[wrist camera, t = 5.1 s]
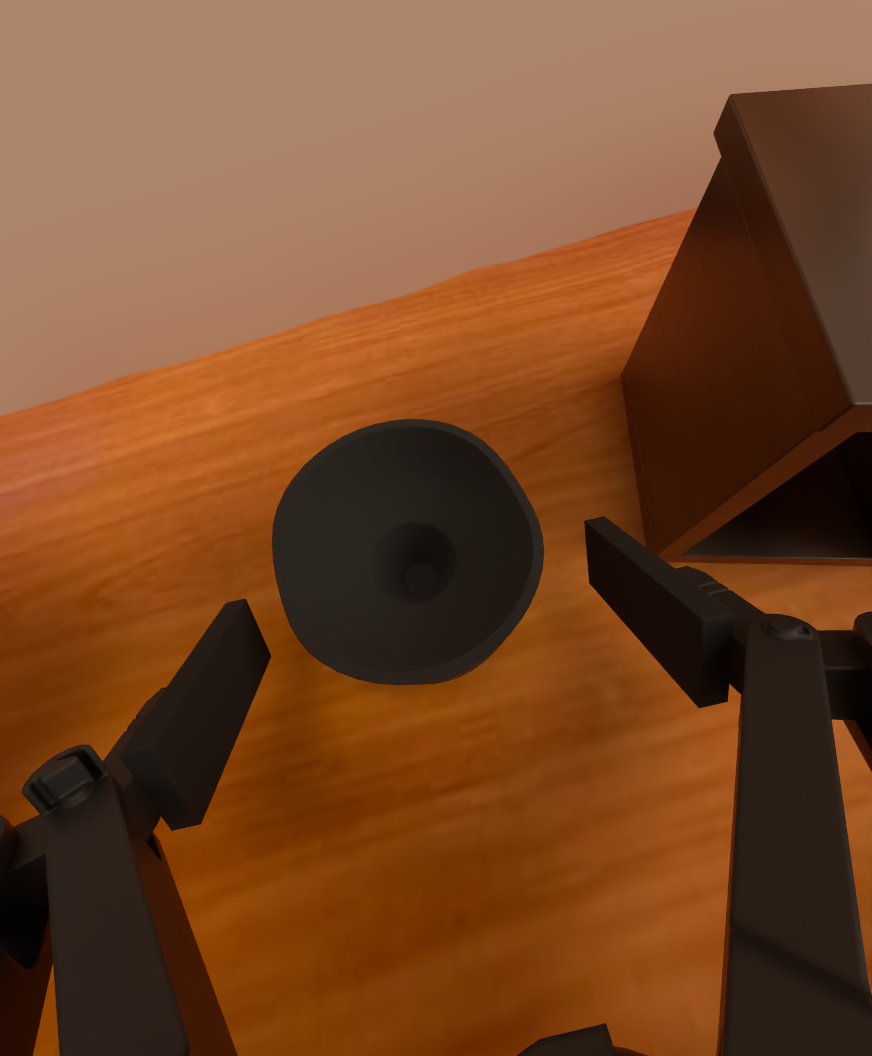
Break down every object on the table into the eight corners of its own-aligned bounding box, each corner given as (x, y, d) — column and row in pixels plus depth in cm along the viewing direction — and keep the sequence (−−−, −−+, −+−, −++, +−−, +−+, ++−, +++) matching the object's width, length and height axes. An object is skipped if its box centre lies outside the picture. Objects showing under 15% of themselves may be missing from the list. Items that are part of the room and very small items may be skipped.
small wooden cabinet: (640, 570, 23) (853, 404, 10) (611, 369, 28) (729, 93, 15) (900, 575, 22) (1511, 396, 9) (820, 365, 27) (1134, 62, 14)
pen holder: (534, 547, 24) (572, 451, 15) (488, 718, 21) (500, 732, 12) (382, 505, 26) (332, 396, 17) (319, 656, 23) (214, 626, 13)
